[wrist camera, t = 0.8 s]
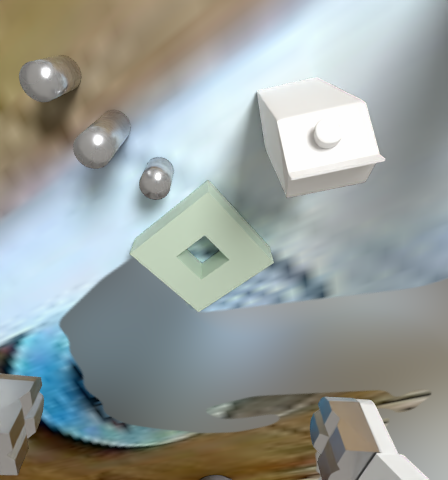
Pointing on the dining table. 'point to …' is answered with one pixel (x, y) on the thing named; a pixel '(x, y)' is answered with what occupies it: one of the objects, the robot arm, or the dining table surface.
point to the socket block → (190, 231)
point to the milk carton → (317, 136)
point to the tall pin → (102, 139)
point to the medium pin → (49, 77)
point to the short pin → (156, 178)
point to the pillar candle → (215, 478)
